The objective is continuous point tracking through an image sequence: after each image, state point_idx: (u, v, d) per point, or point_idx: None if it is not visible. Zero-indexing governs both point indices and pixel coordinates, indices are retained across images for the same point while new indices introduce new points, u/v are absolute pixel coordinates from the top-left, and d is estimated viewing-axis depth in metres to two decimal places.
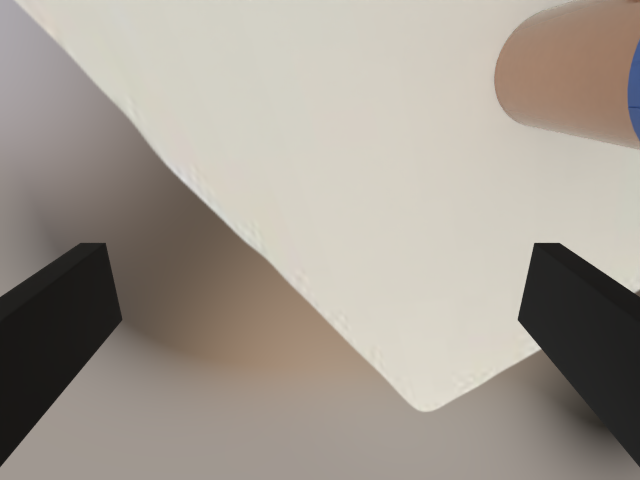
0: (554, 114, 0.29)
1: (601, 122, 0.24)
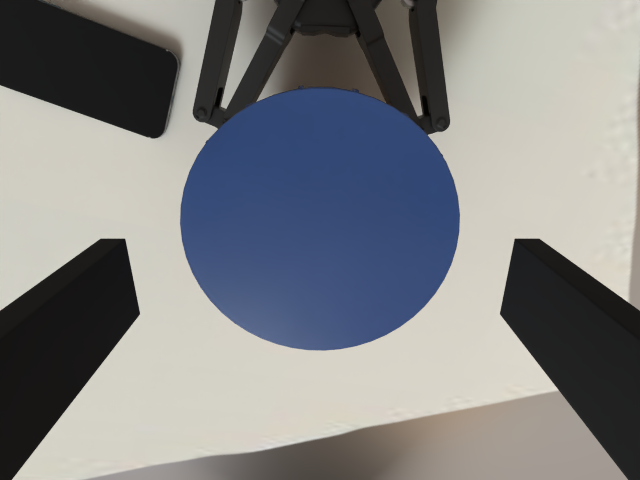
0: None
1: None
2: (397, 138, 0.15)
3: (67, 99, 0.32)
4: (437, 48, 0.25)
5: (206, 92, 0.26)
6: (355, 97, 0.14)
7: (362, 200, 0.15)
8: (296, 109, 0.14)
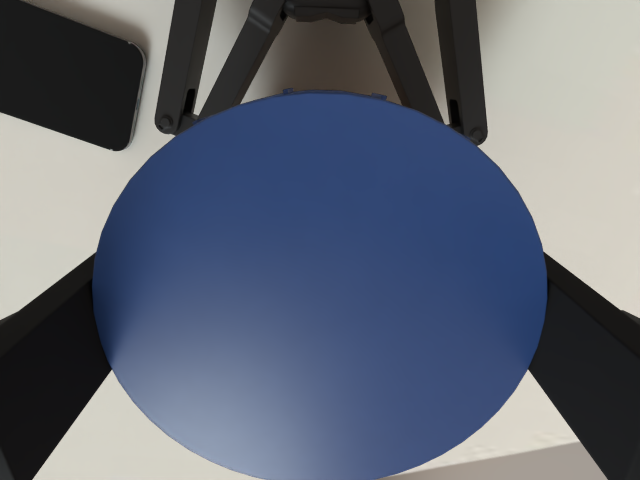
0: None
1: None
2: (452, 178, 0.09)
3: (8, 103, 0.26)
4: (474, 37, 0.19)
5: (171, 95, 0.20)
6: (382, 109, 0.08)
7: (390, 276, 0.09)
8: (279, 130, 0.08)
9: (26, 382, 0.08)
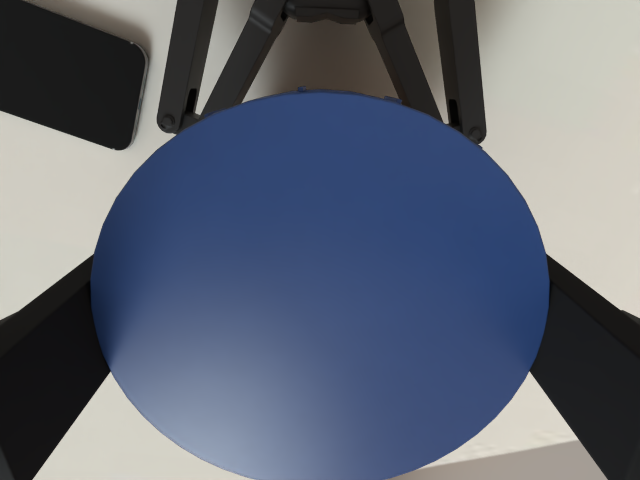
0: None
1: None
2: (129, 261, 0.09)
3: (11, 103, 0.26)
4: (473, 38, 0.19)
5: (173, 95, 0.20)
6: (101, 329, 0.10)
7: (242, 286, 0.09)
8: (148, 391, 0.11)
9: (26, 382, 0.08)
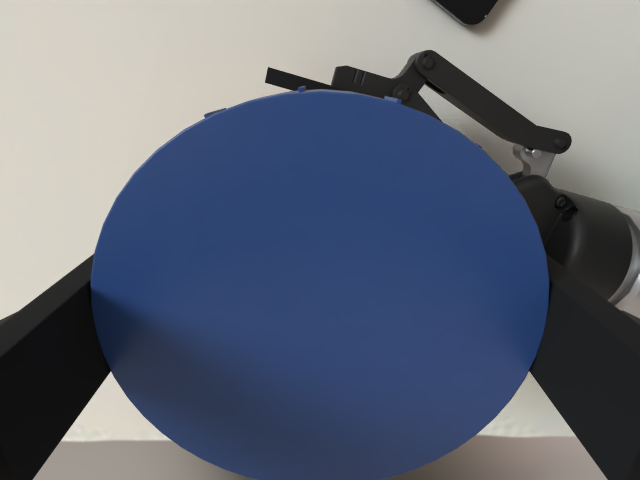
0: None
1: None
2: (129, 261, 0.09)
3: None
4: None
5: (449, 78, 0.20)
6: (101, 329, 0.10)
7: (242, 285, 0.09)
8: (148, 391, 0.11)
9: (26, 382, 0.08)
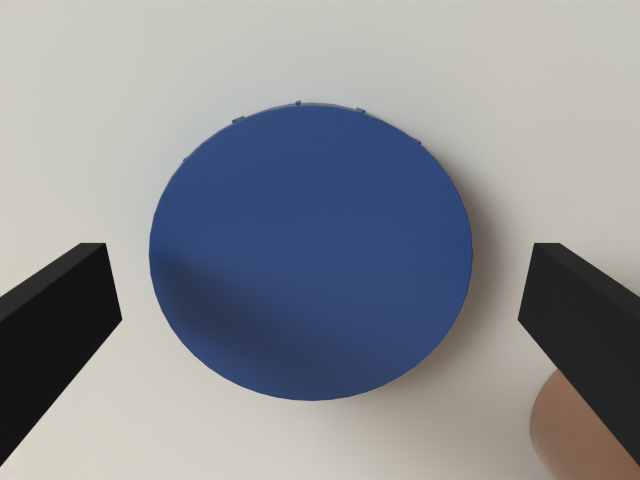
0: None
1: None
2: (178, 222, 0.13)
3: None
4: None
5: None
6: (155, 273, 0.14)
7: (256, 240, 0.13)
8: (186, 321, 0.14)
9: None
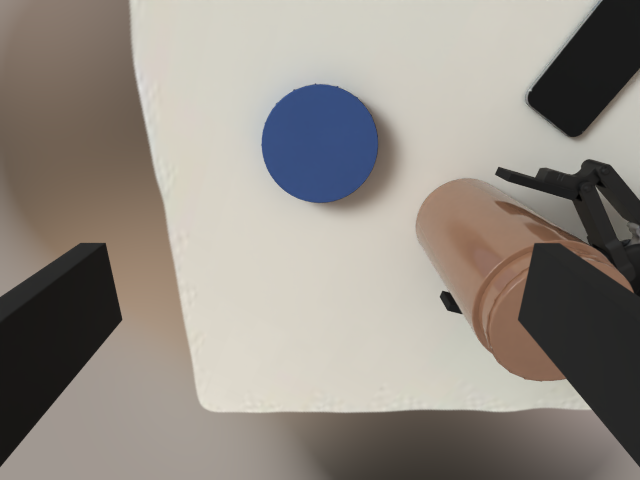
0: (438, 256, 0.35)
1: (456, 284, 0.31)
2: (273, 126, 0.38)
3: (591, 27, 0.36)
4: None
5: (613, 181, 0.35)
6: (263, 146, 0.38)
7: (300, 133, 0.38)
8: (273, 166, 0.39)
9: None
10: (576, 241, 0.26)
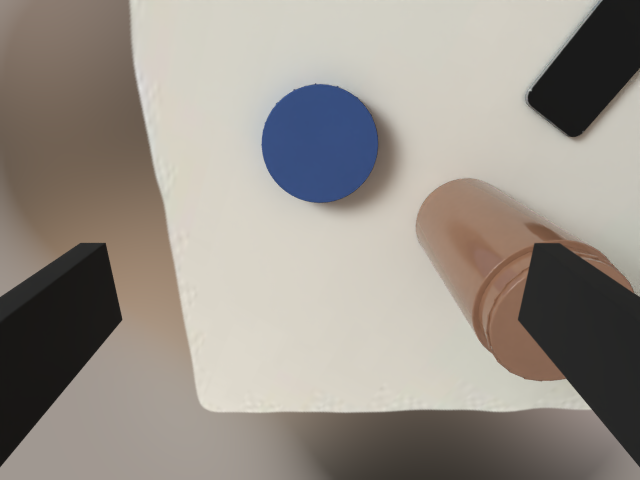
0: (438, 256, 0.35)
1: (456, 284, 0.31)
2: (273, 126, 0.38)
3: (591, 27, 0.36)
4: None
5: None
6: (263, 146, 0.38)
7: (300, 133, 0.38)
8: (273, 166, 0.39)
9: None
10: (576, 241, 0.26)
